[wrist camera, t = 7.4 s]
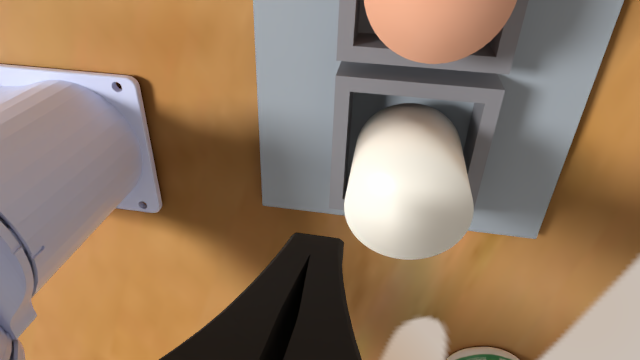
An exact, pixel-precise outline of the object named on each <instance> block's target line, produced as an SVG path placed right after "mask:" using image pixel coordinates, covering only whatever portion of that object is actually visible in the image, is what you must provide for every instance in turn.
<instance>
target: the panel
mask: <svg viewBox="0 0 640 360" xmlns="http://www.w3.org/2000/svg"><path fill="white" fill-rule="evenodd" d="M623 2H624V0H517V2H516V5H515V7H514V9H513V11H512V14H511V16H510V17H509V19H508V21H507V22H506V24H505V25H504V26H503V28H502V29H501V30H500V32H499V33H498V34H497V35H496V36H495V37H494V38H493V39H492V40H491V41H490V42H489V43H488V44H486V45H485V46H484V47H483V48H481V49H480V50H478V51H476V52H475V53H473V54H471V55H469V56H467V57H465V58H462V59H459V60H457V61H453V62H448V63H441V64H426V63H419V62H415V61H411V60H408V59H406V58H404V57H402V56H400V55H398V54H396V53H395V52H393V51H392V50H391V49H389V48H388V47H387V46H386V45H385V44H384V43H383V42H382V41H381V40H380V39H379V37H378V36H377V35H376V33H375V32H374V30H373V28H372V26H371V24H370V22H369V19H368V17H367V14H366V10H365V6H364V0H253V9H254V31H255V52H256V74H257V96H258V117H259V139H260V161H261V182H262V204H263V206H271V207H279V208H287V209H295V210H303V211H312V212H320V213H328V214H336V215H344V216H345V212H344V202H345V196H346V191H347V186H348V181H349V176H350V171H351V167H352V162H353V157H354V152H355V147H356V142H357V138H358V135H359V133H360V131H361V129H362V127H363V126H364V124H365V123H366V122H367V121H368V120H369V118H371V117H372V116H373V115H374V114H376V113H377V112H379V111H380V110H382V109H384V108H386V107H389V106H392V105H396V104H401V103H417V104H423V105H426V106H429V107H432V108H434V109H436V110H438V111H440V112H441V113H443V114H444V115H445V116H446V117H447V118H448V119H449V120H450V121H451V122H452V123H453V125H454V126H455V128H456V130H457V132H458V134H459V137H460V141H461V146H462V151H463V156H464V160H465V165H466V170H467V174H468V179H469V184H470V189H471V193H472V198H473V204H474V213H473V218H472V222H471V224H470V227H469V229H468V230H467V231H475V232H484V233H492V234H500V235H508V236H516V237H524V238H533V239H536V238H537V235H538V232H539V230H540V227H541V224H542V222H543V219H544V216H545V213H546V211H547V208H548V205H549V203H550V200H551V197H552V194H553V192H554V189H555V186H556V184H557V181H558V178H559V175H560V173H561V170H562V167H563V165H564V162H565V159H566V156H567V154H568V151H569V148H570V146H571V143H572V140H573V137H574V135H575V132H576V129H577V127H578V124H579V121H580V118H581V116H582V113H583V110H584V108H585V105H586V102H587V100H588V97H589V94H590V91H591V89H592V86H593V83H594V81H595V78H596V75H597V72H598V70H599V67H600V64H601V62H602V59H603V56H604V53H605V51H606V48H607V45H608V43H609V40H610V37H611V34H612V32H613V29H614V26H615V24H616V21H617V18H618V15H619V13H620V10H621V7H622V5H623Z"/></svg>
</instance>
